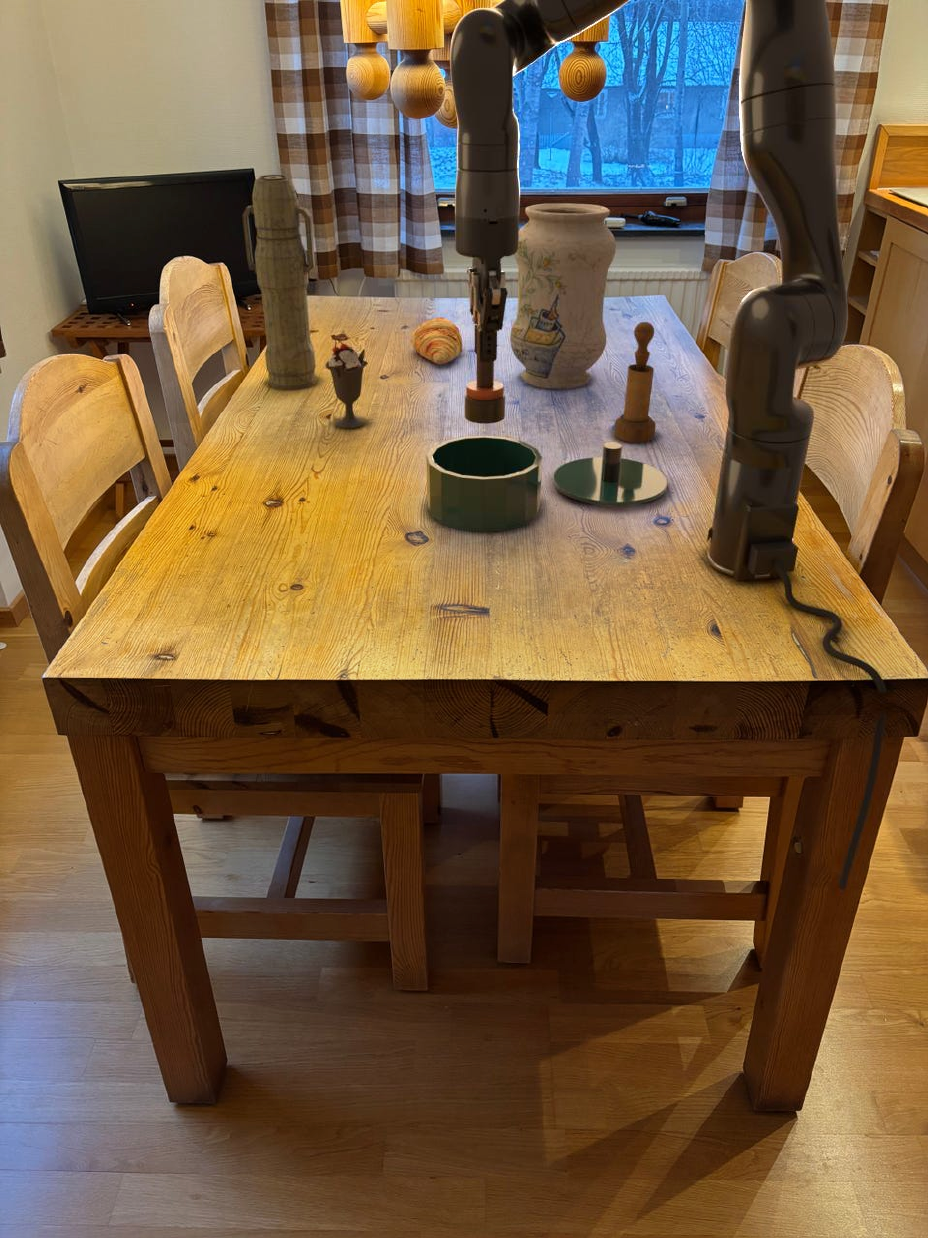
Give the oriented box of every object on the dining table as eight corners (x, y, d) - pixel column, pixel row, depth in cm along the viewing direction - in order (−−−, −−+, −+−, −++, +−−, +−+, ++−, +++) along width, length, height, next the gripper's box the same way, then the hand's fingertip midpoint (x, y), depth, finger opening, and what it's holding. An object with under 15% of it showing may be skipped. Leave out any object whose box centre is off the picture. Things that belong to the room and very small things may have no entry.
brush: (508, 422, 124) (511, 309, 116) (468, 424, 123) (468, 311, 116) (500, 409, 128) (502, 299, 121) (461, 411, 128) (461, 301, 120)
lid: (682, 505, 133) (688, 463, 130) (568, 513, 131) (571, 471, 128) (645, 461, 147) (649, 422, 143) (541, 467, 144) (543, 428, 141)
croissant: (456, 385, 188) (475, 348, 185) (410, 362, 185) (429, 325, 182) (445, 351, 206) (463, 318, 203) (403, 331, 203) (420, 296, 199)
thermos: (323, 389, 176) (306, 179, 157) (257, 389, 175) (233, 180, 157) (326, 374, 183) (311, 172, 165) (264, 374, 183) (242, 173, 165)
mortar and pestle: (653, 444, 153) (666, 329, 143) (612, 441, 154) (622, 327, 144) (655, 429, 158) (667, 318, 149) (615, 427, 159) (624, 316, 150)
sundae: (321, 426, 159) (314, 335, 151) (344, 414, 164) (338, 325, 156) (355, 433, 157) (349, 340, 149) (377, 420, 162) (373, 330, 154)
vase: (545, 358, 192) (553, 195, 176) (623, 376, 182) (638, 205, 167) (489, 380, 180) (492, 207, 164) (569, 400, 170) (580, 219, 155)
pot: (550, 527, 127) (553, 474, 123) (436, 536, 125) (435, 482, 121) (525, 481, 140) (527, 432, 136) (421, 488, 138) (420, 439, 134)
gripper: (446, 202, 118) (447, 343, 127) (465, 221, 106) (465, 375, 115) (506, 200, 119) (503, 341, 128) (531, 219, 107) (526, 372, 116)
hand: (485, 357), depth 122 cm, fingers closed on brush
